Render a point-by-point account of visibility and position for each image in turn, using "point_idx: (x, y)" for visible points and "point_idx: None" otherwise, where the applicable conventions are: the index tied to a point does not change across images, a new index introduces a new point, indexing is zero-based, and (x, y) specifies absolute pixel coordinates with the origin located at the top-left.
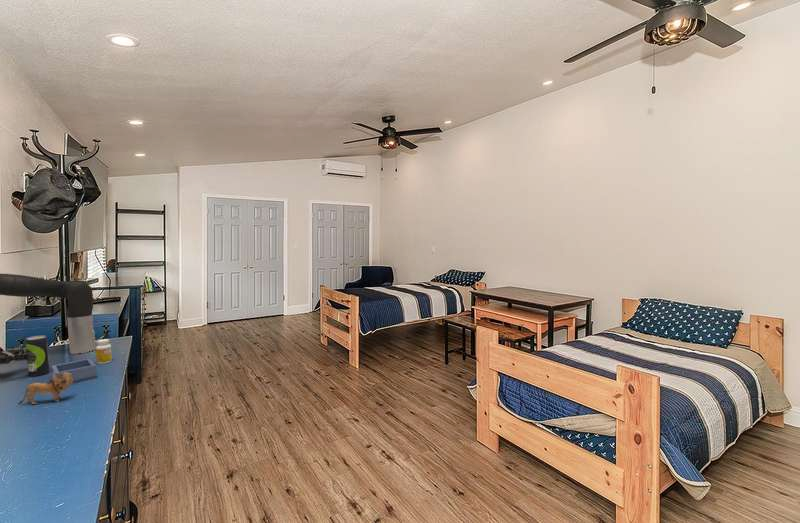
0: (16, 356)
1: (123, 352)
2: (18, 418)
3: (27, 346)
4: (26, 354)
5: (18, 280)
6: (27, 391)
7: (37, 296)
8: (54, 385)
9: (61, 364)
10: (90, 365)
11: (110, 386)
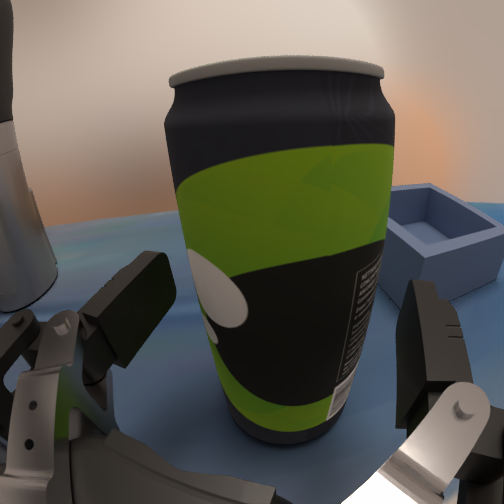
0: (461, 368)
1: (162, 212)
2: None
3: (377, 187)
4: (426, 281)
5: None
6: None
7: None
8: None
9: (409, 233)
10: (414, 194)
11: (477, 206)
